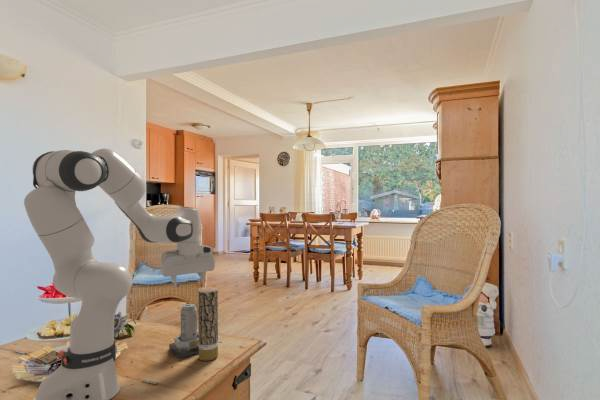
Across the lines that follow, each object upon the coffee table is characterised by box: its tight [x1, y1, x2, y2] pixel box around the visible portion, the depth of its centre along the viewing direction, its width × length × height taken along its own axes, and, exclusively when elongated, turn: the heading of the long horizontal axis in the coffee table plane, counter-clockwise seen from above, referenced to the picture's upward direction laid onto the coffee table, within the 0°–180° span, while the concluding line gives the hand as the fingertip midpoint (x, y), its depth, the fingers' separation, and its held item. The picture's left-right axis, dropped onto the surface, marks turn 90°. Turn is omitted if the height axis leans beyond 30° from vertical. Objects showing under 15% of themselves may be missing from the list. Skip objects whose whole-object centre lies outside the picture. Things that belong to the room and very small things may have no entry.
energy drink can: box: [180, 302, 198, 341], centre depth 132 cm, size 6×6×15 cm
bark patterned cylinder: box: [198, 286, 219, 362], centre depth 125 cm, size 7×7×25 cm
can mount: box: [168, 331, 199, 360], centre depth 131 cm, size 11×11×5 cm
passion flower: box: [114, 311, 137, 339], centre depth 146 cm, size 11×11×12 cm
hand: (188, 285), depth 131 cm, fingers open, 8 cm apart
